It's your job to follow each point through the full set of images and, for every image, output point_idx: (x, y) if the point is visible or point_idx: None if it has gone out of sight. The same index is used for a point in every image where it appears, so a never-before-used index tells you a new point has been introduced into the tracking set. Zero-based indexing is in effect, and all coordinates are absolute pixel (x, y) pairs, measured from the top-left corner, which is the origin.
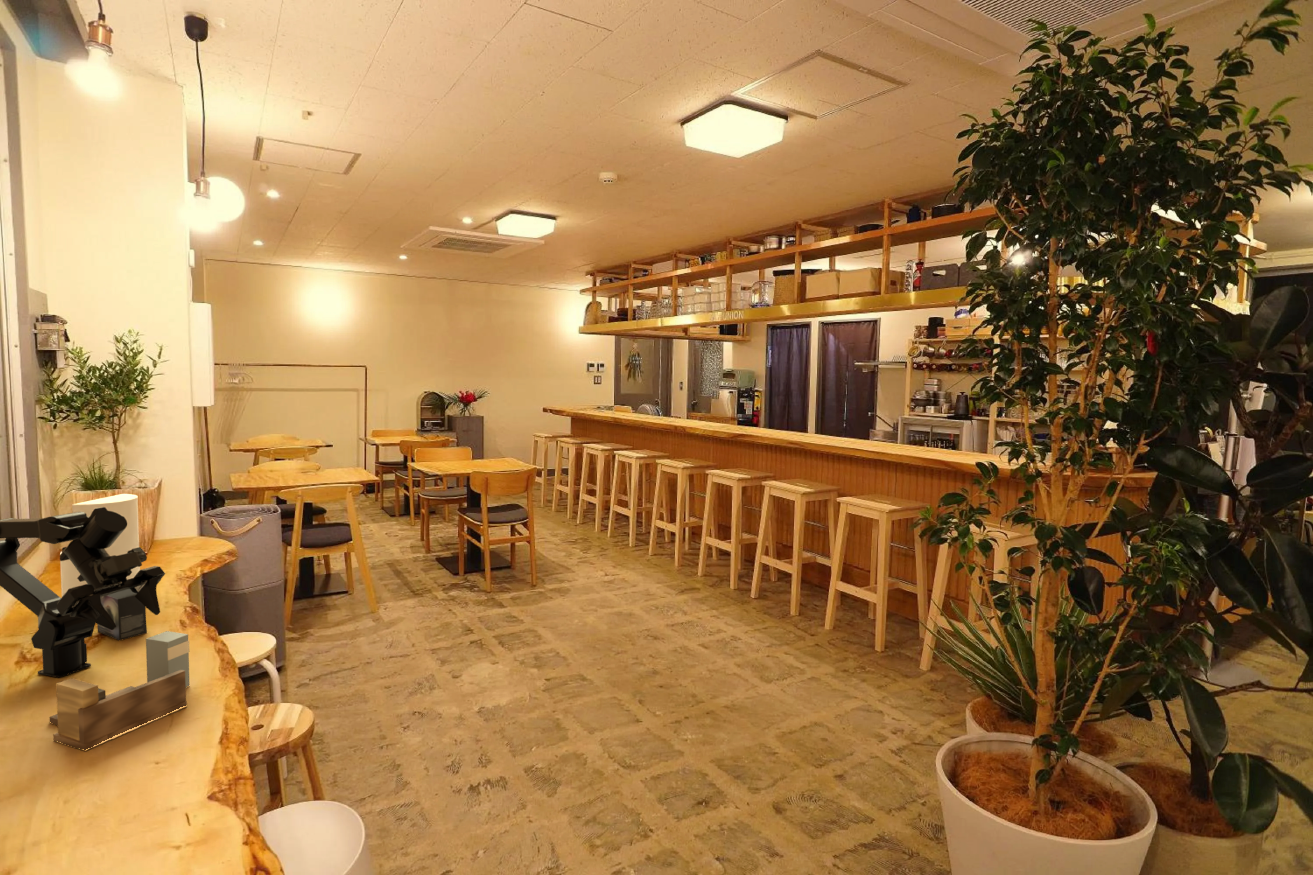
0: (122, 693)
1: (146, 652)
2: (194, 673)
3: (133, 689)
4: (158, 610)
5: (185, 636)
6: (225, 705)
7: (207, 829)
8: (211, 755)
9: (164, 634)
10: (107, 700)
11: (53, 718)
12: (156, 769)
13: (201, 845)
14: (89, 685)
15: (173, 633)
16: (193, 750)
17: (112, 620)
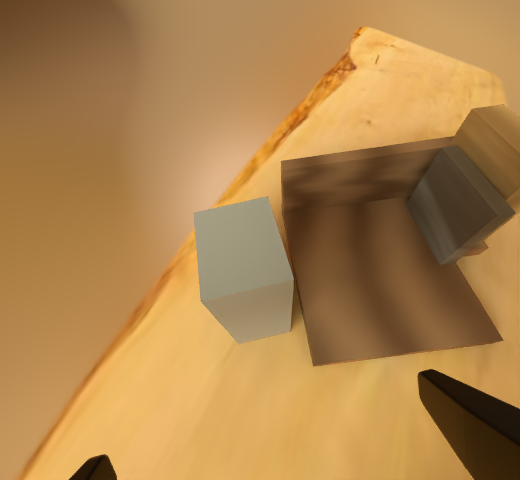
0: (405, 147)
1: (292, 298)
2: (179, 345)
3: (384, 150)
4: (91, 464)
5: (205, 213)
6: (247, 179)
7: (371, 48)
8: (324, 105)
9: (230, 270)
10: (434, 140)
11: (492, 324)
12: (373, 113)
13: (380, 41)
14: (489, 116)
15: (209, 253)
16: (332, 120)
17: (467, 403)
